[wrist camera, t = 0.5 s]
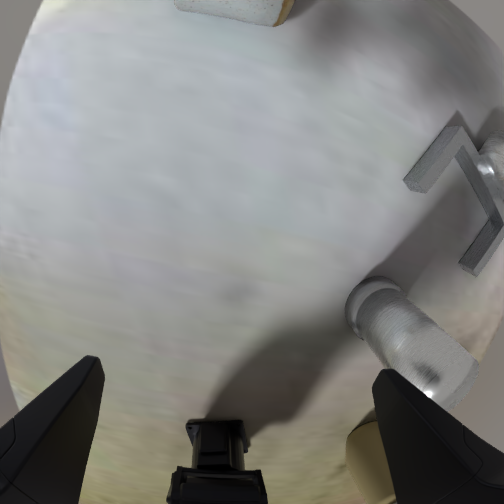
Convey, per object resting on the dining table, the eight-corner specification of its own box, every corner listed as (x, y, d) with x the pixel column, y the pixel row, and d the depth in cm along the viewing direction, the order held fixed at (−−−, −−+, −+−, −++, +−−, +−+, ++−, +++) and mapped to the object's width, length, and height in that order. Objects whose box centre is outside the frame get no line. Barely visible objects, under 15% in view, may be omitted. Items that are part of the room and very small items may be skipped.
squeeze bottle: (398, 428, 34) (450, 521, 17) (351, 457, 35) (388, 554, 17) (382, 405, 31) (443, 515, 14) (327, 438, 32) (367, 554, 15)
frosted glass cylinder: (394, 325, 28) (466, 405, 15) (343, 335, 28) (402, 433, 15) (400, 272, 26) (491, 342, 14) (345, 280, 26) (424, 368, 13)
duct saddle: (462, 269, 27) (498, 289, 21) (402, 180, 24) (444, 188, 18) (511, 195, 25) (547, 205, 19) (462, 103, 22) (503, 99, 16)
